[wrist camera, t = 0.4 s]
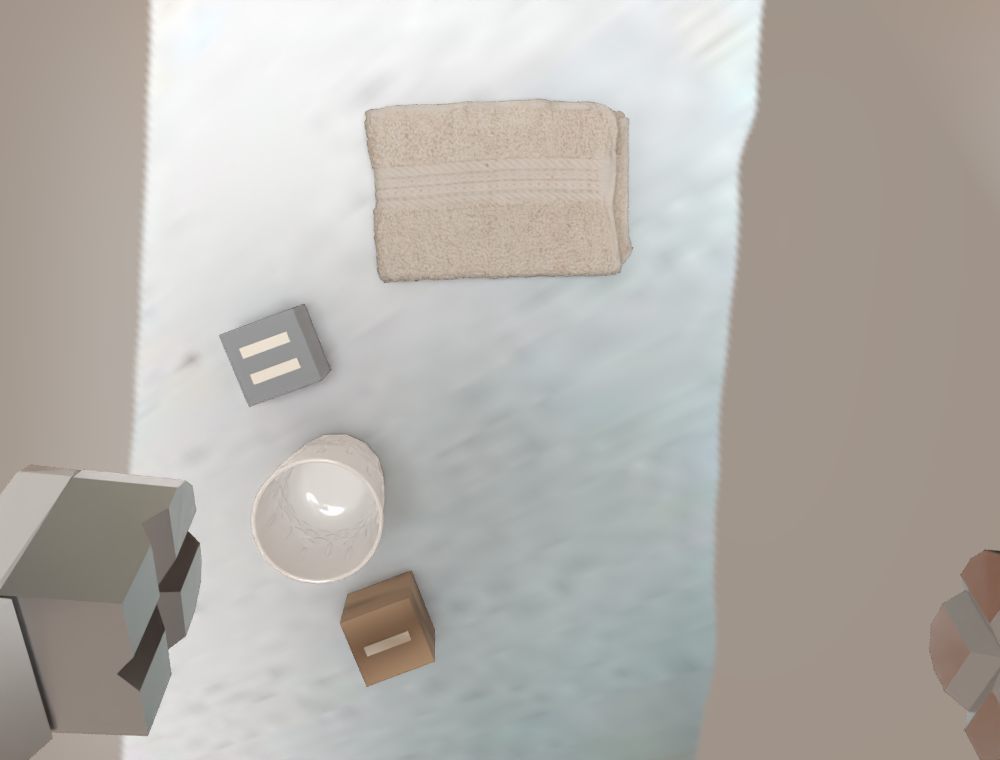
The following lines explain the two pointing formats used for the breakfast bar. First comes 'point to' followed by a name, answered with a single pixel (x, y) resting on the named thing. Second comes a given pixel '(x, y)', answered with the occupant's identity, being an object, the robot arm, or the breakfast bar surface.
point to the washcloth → (499, 189)
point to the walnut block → (388, 628)
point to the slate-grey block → (276, 355)
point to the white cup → (321, 510)
